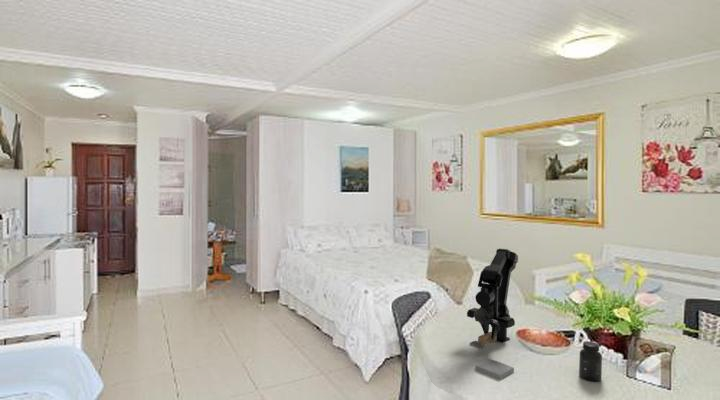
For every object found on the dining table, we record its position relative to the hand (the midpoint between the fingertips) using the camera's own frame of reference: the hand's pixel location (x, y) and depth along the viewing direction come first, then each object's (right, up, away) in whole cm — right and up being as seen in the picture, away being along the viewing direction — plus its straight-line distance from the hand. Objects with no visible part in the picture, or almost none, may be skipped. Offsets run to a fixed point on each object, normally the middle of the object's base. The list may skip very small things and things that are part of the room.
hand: (489, 338), depth 168 cm
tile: (-1, -5, -16) cm, 17 cm away
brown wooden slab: (-2, -1, -2) cm, 3 cm away
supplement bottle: (+28, -6, -24) cm, 37 cm away
